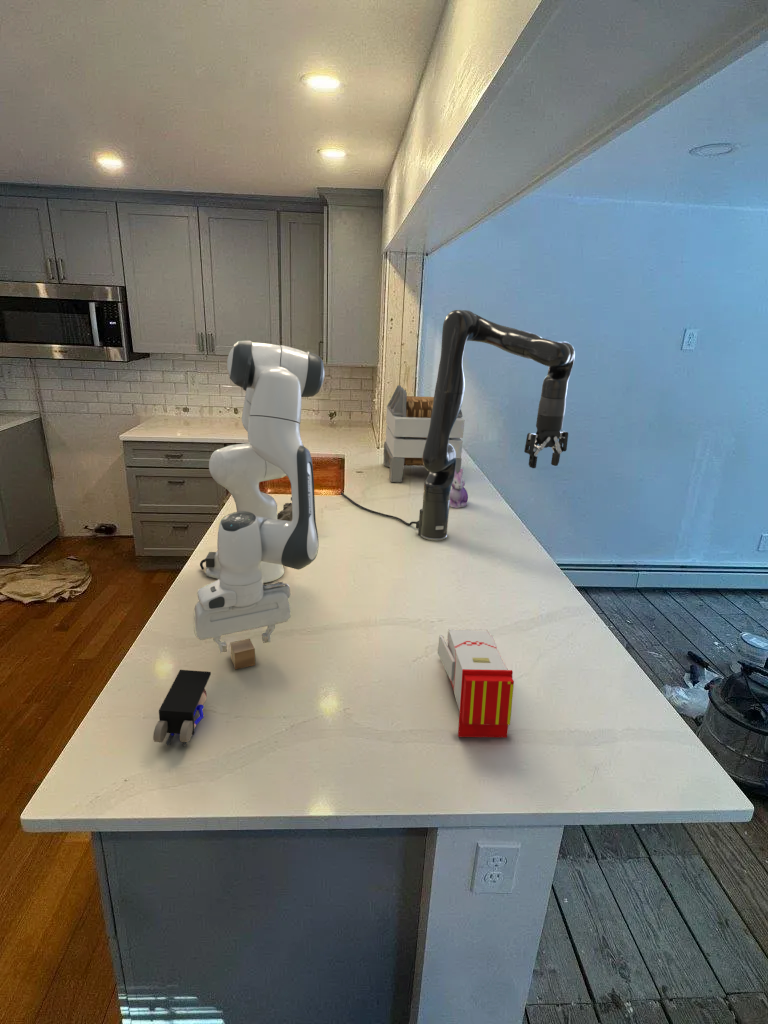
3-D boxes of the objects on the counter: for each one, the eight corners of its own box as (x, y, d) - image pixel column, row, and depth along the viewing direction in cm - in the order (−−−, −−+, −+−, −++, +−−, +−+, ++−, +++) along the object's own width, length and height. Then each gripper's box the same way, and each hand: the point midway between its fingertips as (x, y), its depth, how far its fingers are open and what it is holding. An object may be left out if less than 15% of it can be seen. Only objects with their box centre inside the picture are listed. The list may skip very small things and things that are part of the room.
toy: (488, 613, 130) (523, 677, 101) (484, 667, 133) (517, 744, 104) (435, 612, 130) (455, 676, 101) (432, 666, 133) (451, 743, 103)
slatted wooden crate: (382, 463, 289) (386, 382, 275) (445, 464, 293) (451, 384, 279) (390, 482, 257) (394, 392, 243) (460, 483, 261) (468, 394, 247)
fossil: (280, 499, 216) (309, 478, 211) (296, 518, 219) (326, 498, 214) (263, 525, 196) (295, 503, 191) (282, 546, 199) (314, 524, 194)
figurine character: (193, 760, 99) (215, 697, 113) (188, 728, 96) (211, 667, 109) (154, 759, 99) (181, 696, 113) (148, 727, 96) (176, 666, 109)
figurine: (454, 509, 226) (458, 473, 221) (440, 502, 235) (443, 467, 229) (474, 507, 230) (477, 471, 225) (459, 499, 239) (463, 465, 234)
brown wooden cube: (255, 665, 124) (254, 648, 123) (235, 669, 122) (234, 653, 121) (250, 654, 128) (249, 638, 126) (230, 658, 126) (230, 642, 125)
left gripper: (285, 574, 126) (286, 629, 131) (189, 591, 117) (194, 649, 121) (294, 586, 121) (295, 642, 125) (194, 605, 112) (199, 665, 116)
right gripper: (560, 409, 172) (552, 461, 177) (523, 411, 166) (516, 465, 171) (578, 414, 166) (570, 467, 171) (540, 416, 159) (533, 471, 165)
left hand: (244, 646), depth 123 cm, fingers open, 8 cm apart
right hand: (543, 466), depth 171 cm, fingers open, 8 cm apart
